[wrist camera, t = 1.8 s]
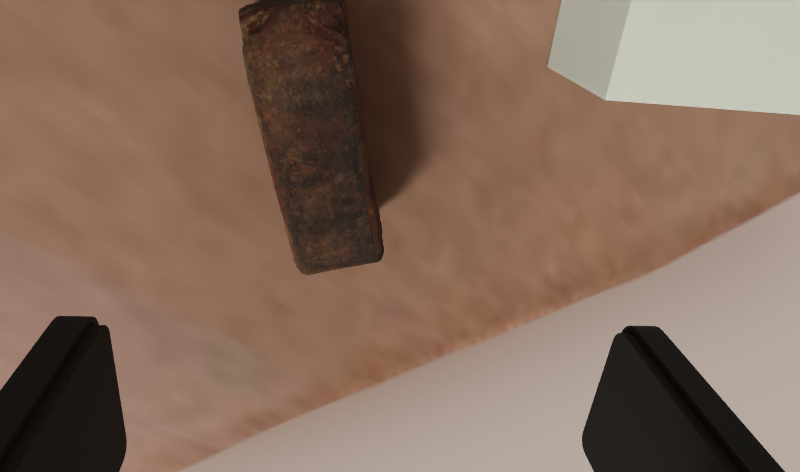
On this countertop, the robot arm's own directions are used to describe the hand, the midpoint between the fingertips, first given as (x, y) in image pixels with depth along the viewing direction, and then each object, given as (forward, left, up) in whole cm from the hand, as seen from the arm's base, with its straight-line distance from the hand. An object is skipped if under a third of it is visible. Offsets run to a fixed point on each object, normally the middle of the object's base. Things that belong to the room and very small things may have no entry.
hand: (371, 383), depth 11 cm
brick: (0, -1, -18) cm, 18 cm away
